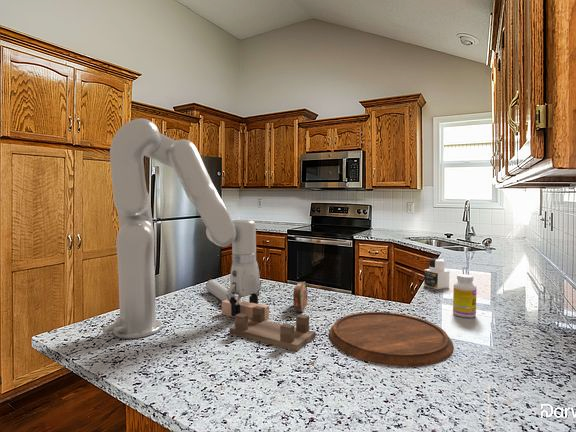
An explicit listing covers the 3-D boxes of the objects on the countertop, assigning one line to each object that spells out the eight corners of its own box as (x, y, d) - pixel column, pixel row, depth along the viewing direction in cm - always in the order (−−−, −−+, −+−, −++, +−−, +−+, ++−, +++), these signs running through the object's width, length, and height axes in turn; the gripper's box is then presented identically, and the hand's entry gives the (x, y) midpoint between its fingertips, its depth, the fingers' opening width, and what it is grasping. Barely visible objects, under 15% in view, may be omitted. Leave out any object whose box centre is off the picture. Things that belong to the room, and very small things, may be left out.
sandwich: (301, 315, 111) (301, 289, 111) (292, 315, 112) (292, 289, 111) (308, 301, 126) (308, 279, 126) (299, 301, 127) (299, 278, 126)
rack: (297, 351, 85) (297, 329, 85) (229, 333, 97) (229, 314, 96) (315, 337, 94) (315, 317, 93) (251, 322, 105) (251, 304, 105)
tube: (244, 295, 121) (219, 280, 142) (231, 293, 118) (207, 278, 139) (240, 310, 120) (215, 293, 142) (226, 308, 118) (203, 291, 139)
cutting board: (310, 326, 102) (310, 318, 102) (398, 313, 114) (398, 306, 114) (372, 379, 73) (372, 367, 72) (483, 354, 84) (483, 344, 84)
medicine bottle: (423, 285, 148) (424, 258, 148) (435, 283, 151) (436, 257, 151) (437, 289, 142) (437, 260, 141) (449, 287, 145) (450, 259, 144)
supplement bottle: (475, 319, 106) (476, 278, 106) (451, 316, 110) (452, 276, 109) (476, 313, 112) (477, 274, 111) (454, 310, 116) (455, 272, 115)
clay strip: (261, 324, 104) (261, 309, 104) (221, 315, 113) (221, 301, 112) (268, 320, 108) (268, 305, 108) (229, 311, 116) (229, 298, 116)
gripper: (235, 264, 100) (236, 322, 101) (269, 255, 115) (270, 306, 116) (216, 262, 104) (217, 318, 105) (251, 253, 119) (252, 303, 120)
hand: (245, 312), depth 110 cm, fingers open, 8 cm apart
